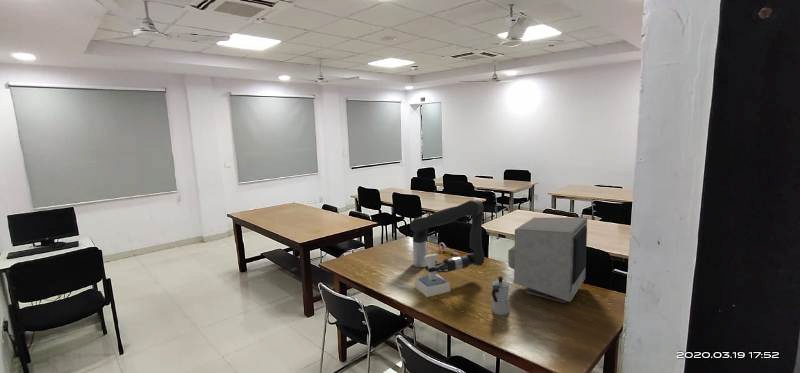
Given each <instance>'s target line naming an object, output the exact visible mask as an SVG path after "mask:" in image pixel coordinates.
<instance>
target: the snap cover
mask: <svg viewBox="0 0 800 373" xmlns="http://www.w3.org/2000/svg"><path fill="white" fill-rule="evenodd" d="M424 259H425V260H427V266H428V269H429V268H433V267H434V268H435V261H436V259H439V253H433V254H427V255H426V256H424ZM427 273H428V275H427V276H421V277H418V278H419V281H421V282H422V283H423V284H425V285H426V286H427V287H429V286H433V285H438V284H442V283H445V280H446V279H445V280H443V279H444V278H443V277H442V278H443V279H442V278H440V277H441V276H440V275H439V276H440V277H439V276H437V275H438V274H437V275H436V272H435V271H434V272H427Z"/></svg>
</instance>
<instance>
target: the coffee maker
mask: <svg viewBox="0 0 800 373" xmlns="http://www.w3.org/2000/svg"><path fill="white" fill-rule="evenodd" d="M497 278H498V280H494V281H492V283H491V286H492V291H491V296H492V298H493V299H492V300H493V301H492V307H491V311H492V313H493V314H494V315H497V316H508V315H509V313H510V311H511V310H510V306H509V301H508V298H509V297H508V296H509V289H510V282H507V280H504V277H503V276H501V275H500V276H497Z"/></svg>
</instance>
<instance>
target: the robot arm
mask: <svg viewBox="0 0 800 373" xmlns="http://www.w3.org/2000/svg"><path fill="white" fill-rule="evenodd" d="M484 208H485V206H484V204H483V202H482V201H481V200H478V199H470V200H468V201H466V202H464V203H461V204H459V205H457V206H451V207H446V208H443V209H441V210H439V211H436V212H434V213H432V214H431V213H430V214H429V215H427V216H418V217H416V218H414V219H413V220H411V221H410V224H409V229H410V230H411V231H412V232H414V234H413V236H412V248H413V249H412V250H413V251H412V254H413V255H412V256H413V257H412V258H413V260H412V261H413V266H414V267H416V268H425V269H424V270H425V271H428V272H434V271H435V273H437V274H438V273H439V274H440V273H441V274H442V273H449V272H450V273H451V272H453V271H458V270H460V269H465V268H468V267H469V266H471V265H473V266H479V267H480V266H482V265H483V264H484V263H485V254H484V250H483V246H482V225H483V215H484ZM468 216H472V217H471V219H472V220H471V221H472V222H471V228H470V232H469V248H470V249H471V250H472V251H473V252H470V253H467V254H465V255H461V256H460V255H459V256H453V257H449V258H445V259H443V261H441V262H438V261H437V260H435V268H434V267H433V268H429V269H428V260H425V259H424V256H426V255H428V251H427V250H428V249H427V246H428V245H427V244H428V243H427V238H428V233H429V232H428V231H429V230H428V229H429V228H434V227H438V226H443V225H446V224H450V223H452V222H453V223H454V222H455V221H456V220H458V219H459V218H463V217H468ZM428 272H427V273H428Z"/></svg>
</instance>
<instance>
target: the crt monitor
mask: <svg viewBox="0 0 800 373" xmlns="http://www.w3.org/2000/svg"><path fill="white" fill-rule="evenodd" d="M587 237H588V217H532V218H531V219H529V220H527V221H526V222H525V223H523V224H522V225H520V226H518V227H517V228H515V229H514V246H512V247H511V248H509V249H508V253H507V255H508V256H507V258H508V259H507V262H508V266H509V268H510V269H513V284H516V285H519V286H522V287H525V288H527V289H526V290H525V291H524V293H525V294H528V295H534V296H538V297H540V298H544V299H548V300H551V301H555V302H560V303H564V304H565V303H566V302H568V303H569V302H572V300H573V298H574V297H575V295H576V294H577V292H578V290H579V289H580V287H581V286H582V285H583V283H584V281H585V280H586V267H587V266H586V265H587V241H588V240H587V239H588V238H587Z"/></svg>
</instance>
